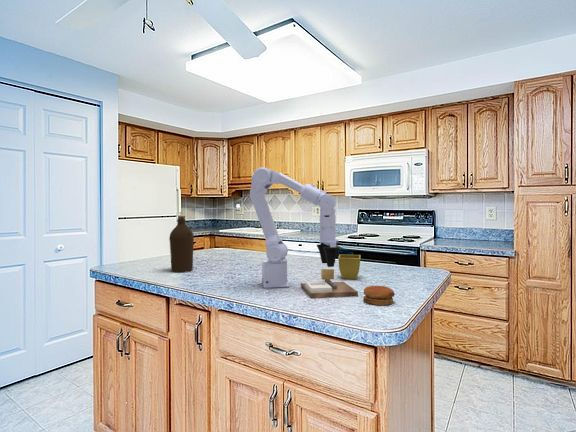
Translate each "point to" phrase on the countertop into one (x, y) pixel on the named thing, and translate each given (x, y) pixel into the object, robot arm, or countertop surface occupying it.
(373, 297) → the burger
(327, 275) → the wooden mallet
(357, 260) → the flower pot
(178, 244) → the olive oil
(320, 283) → the cover
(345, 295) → the board
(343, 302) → the countertop surface
